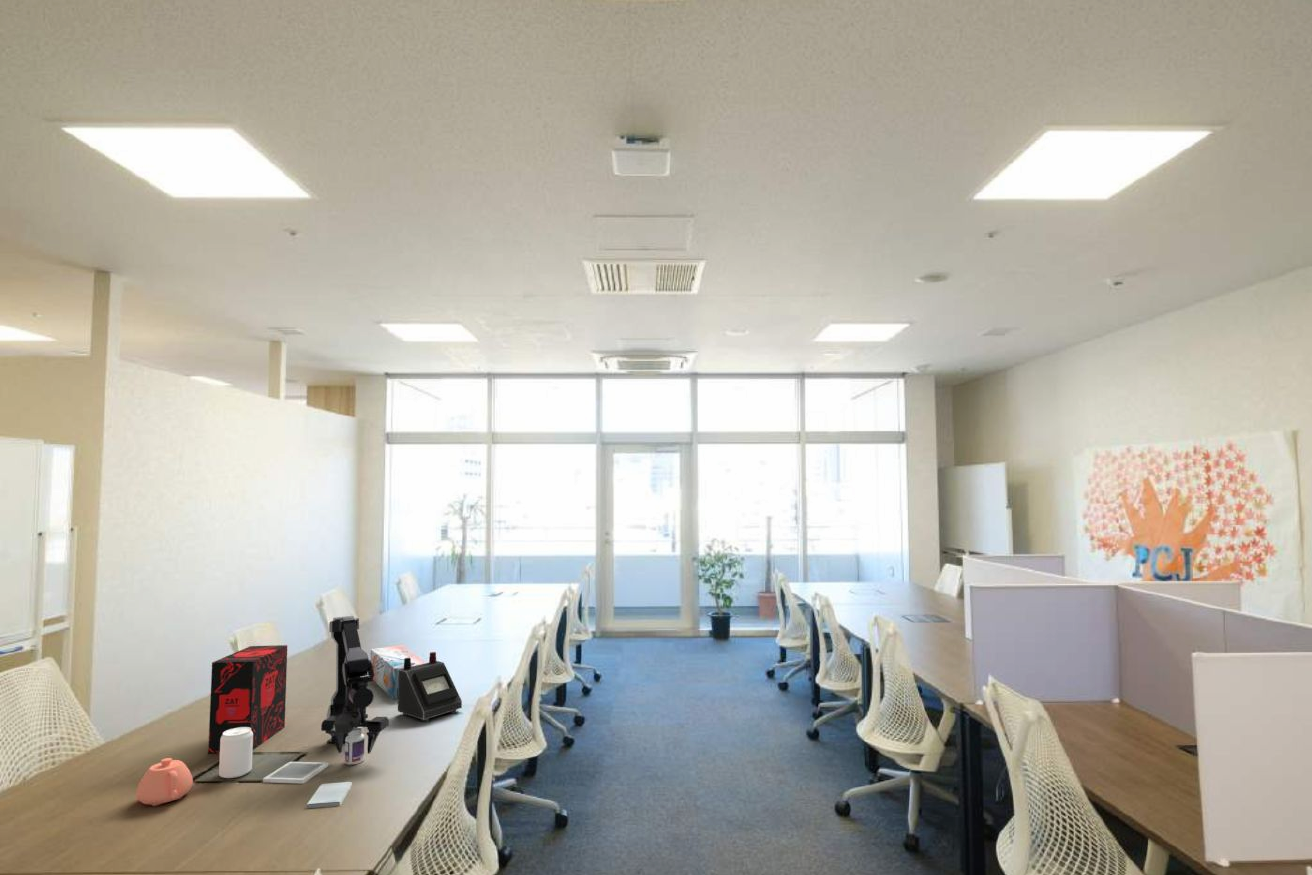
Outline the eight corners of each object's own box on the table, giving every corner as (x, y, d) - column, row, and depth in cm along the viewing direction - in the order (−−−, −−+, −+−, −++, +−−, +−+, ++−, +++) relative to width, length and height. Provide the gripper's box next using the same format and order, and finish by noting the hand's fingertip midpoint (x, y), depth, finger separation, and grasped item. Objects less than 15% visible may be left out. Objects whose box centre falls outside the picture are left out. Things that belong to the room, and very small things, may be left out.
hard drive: (340, 801, 176) (352, 780, 188) (306, 804, 174) (320, 783, 187) (340, 807, 176) (351, 787, 188) (305, 810, 174) (320, 789, 186)
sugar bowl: (183, 784, 189) (185, 747, 190) (201, 798, 180) (202, 759, 181) (129, 800, 180) (131, 760, 181) (145, 816, 171) (147, 774, 172)
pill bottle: (367, 757, 207) (367, 725, 208) (359, 764, 202) (360, 731, 203) (349, 758, 207) (349, 725, 208) (341, 765, 202) (342, 731, 203)
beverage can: (214, 781, 191) (216, 737, 192) (224, 769, 199) (226, 727, 200) (246, 777, 194) (248, 734, 195) (255, 766, 201) (256, 725, 202)
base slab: (289, 765, 202) (289, 761, 202) (327, 766, 201) (328, 762, 201) (262, 782, 190) (263, 778, 190) (303, 783, 189) (303, 779, 189)
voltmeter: (423, 724, 238) (425, 665, 239) (397, 715, 248) (398, 659, 249) (462, 711, 250) (462, 656, 252) (435, 703, 260) (436, 650, 262)
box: (249, 752, 213) (252, 661, 215) (208, 754, 212) (212, 662, 214) (284, 727, 236) (287, 645, 238) (247, 728, 235) (250, 645, 237)
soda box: (368, 678, 298) (368, 648, 299) (400, 673, 306) (401, 644, 307) (393, 701, 265) (394, 667, 266) (429, 694, 273) (429, 661, 274)
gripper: (311, 707, 199) (309, 762, 198) (371, 708, 197) (370, 764, 196) (332, 696, 210) (331, 748, 209) (390, 697, 208) (389, 749, 207)
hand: (354, 752), depth 205 cm, fingers open, 9 cm apart
